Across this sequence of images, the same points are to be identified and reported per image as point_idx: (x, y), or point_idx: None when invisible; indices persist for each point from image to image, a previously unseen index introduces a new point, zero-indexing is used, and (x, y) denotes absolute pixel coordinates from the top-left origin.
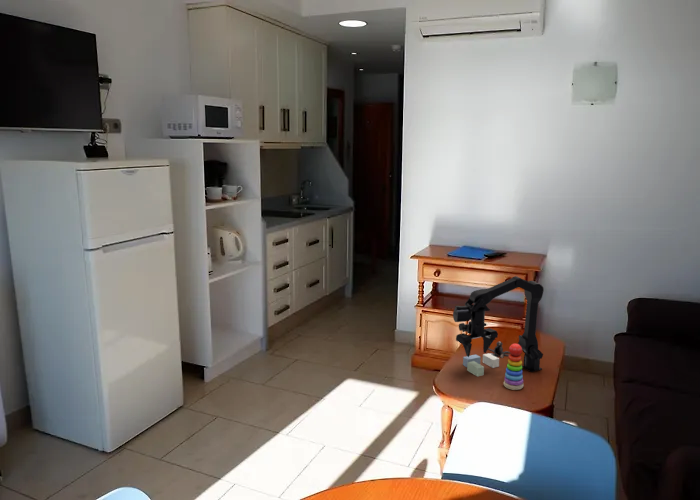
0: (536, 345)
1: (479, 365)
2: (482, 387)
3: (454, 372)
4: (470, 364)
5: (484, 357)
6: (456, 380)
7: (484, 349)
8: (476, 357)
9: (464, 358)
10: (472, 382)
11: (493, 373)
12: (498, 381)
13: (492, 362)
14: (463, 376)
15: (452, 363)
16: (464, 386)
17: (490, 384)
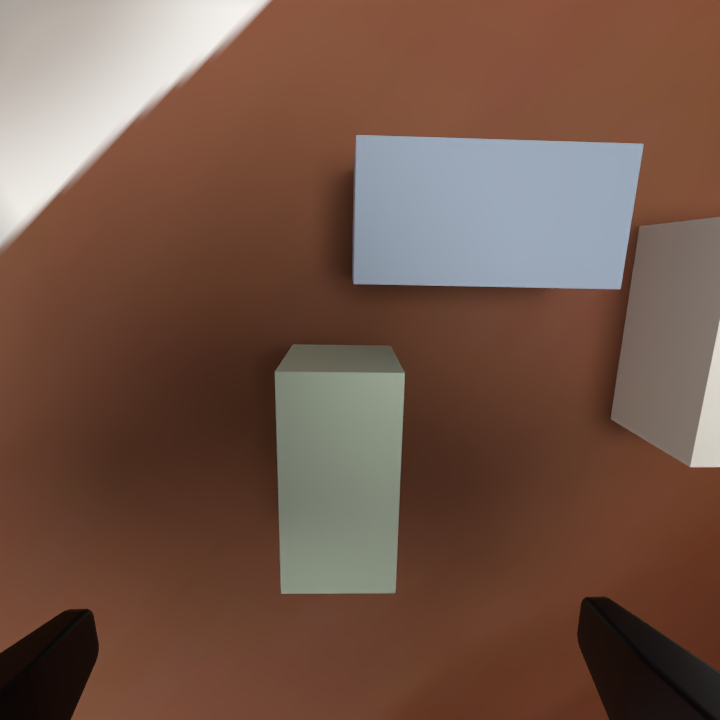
0: None
1: (367, 536)
2: (189, 711)
3: (111, 319)
4: (277, 443)
5: (700, 263)
6: (22, 502)
7: (634, 698)
8: (548, 270)
9: (355, 179)
10: (162, 602)
11: (505, 531)
12: (411, 678)
13: (659, 437)
14: (154, 455)
15: (249, 42)
16: None
17: (298, 695)
